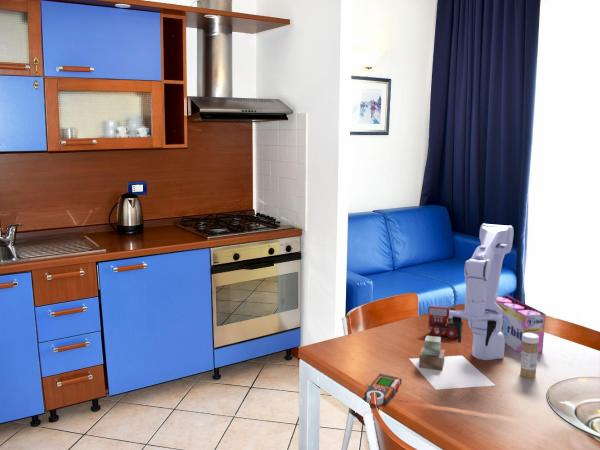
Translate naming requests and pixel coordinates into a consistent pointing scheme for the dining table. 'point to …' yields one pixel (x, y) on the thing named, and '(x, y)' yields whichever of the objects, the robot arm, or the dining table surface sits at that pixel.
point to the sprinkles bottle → (529, 355)
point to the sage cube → (432, 345)
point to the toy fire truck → (441, 322)
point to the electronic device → (383, 388)
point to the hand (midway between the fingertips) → (473, 343)
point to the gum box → (520, 322)
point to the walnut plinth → (431, 360)
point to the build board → (454, 374)
